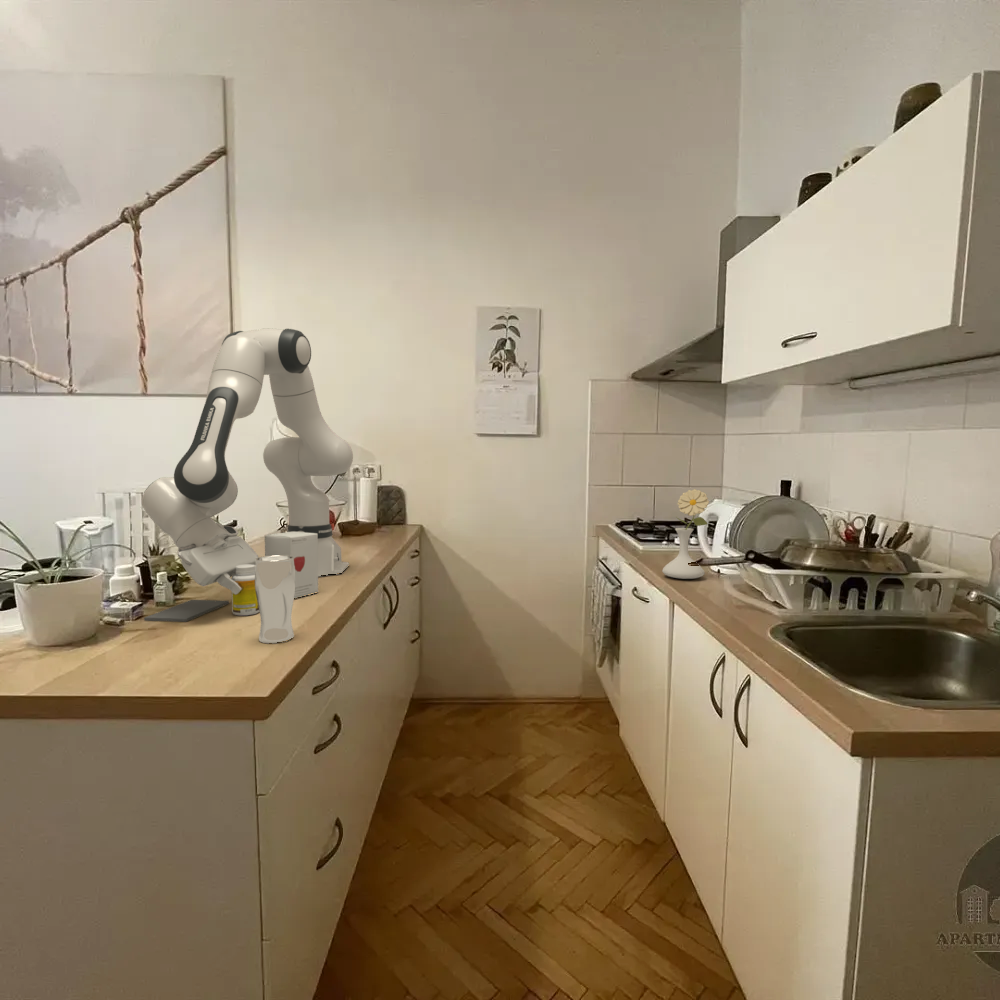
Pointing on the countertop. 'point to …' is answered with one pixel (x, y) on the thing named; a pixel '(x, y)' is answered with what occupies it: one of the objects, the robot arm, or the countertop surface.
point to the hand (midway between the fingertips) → (248, 588)
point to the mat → (186, 610)
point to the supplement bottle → (245, 591)
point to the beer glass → (275, 596)
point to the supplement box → (297, 557)
